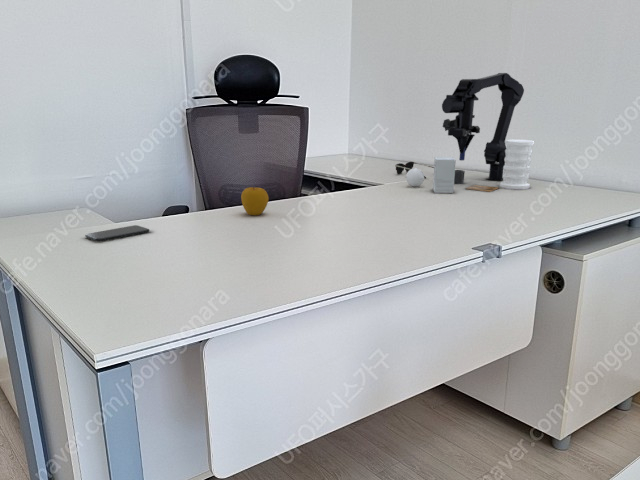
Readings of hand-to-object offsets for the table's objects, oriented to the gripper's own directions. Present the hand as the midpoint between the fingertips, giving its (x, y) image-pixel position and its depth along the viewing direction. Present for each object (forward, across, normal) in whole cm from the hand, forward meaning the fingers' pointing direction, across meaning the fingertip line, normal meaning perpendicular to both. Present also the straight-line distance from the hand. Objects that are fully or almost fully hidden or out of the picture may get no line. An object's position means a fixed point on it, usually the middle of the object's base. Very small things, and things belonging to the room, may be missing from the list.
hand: (462, 152), depth 241 cm
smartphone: (+12, +137, -42) cm, 144 cm away
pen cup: (+12, -1, -1) cm, 13 cm away
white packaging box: (+13, +21, +2) cm, 25 cm away
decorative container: (+13, -5, +21) cm, 25 cm away
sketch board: (+12, +6, +12) cm, 19 cm away
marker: (+3, 0, 0) cm, 3 cm away
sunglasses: (+13, -9, -24) cm, 28 cm away
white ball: (+13, +17, -13) cm, 25 cm away
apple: (+12, +95, -29) cm, 100 cm away
